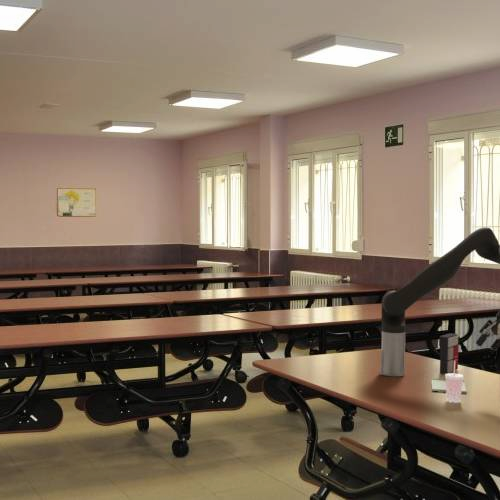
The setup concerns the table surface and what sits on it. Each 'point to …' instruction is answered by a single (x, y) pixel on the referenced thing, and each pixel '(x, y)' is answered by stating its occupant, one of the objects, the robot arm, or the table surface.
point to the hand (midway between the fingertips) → (485, 347)
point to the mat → (444, 385)
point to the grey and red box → (448, 353)
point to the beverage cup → (453, 386)
